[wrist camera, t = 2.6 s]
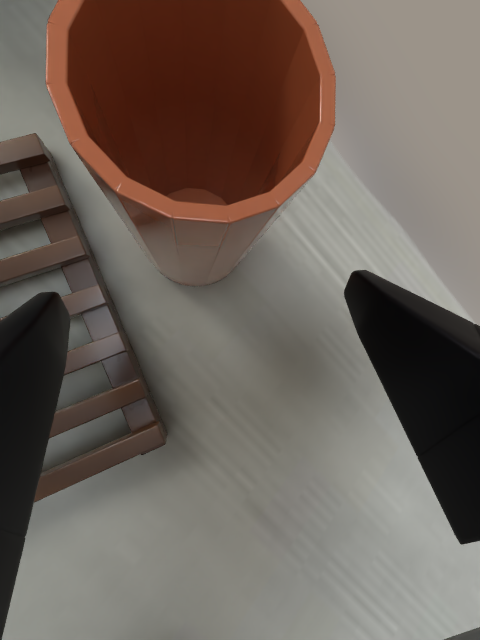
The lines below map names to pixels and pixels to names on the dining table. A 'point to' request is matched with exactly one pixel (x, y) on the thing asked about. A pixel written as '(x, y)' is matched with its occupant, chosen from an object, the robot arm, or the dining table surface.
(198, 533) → the dining table surface
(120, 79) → the tumbler
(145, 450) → the drying rack
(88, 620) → the dining table surface
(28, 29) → the dining table surface
